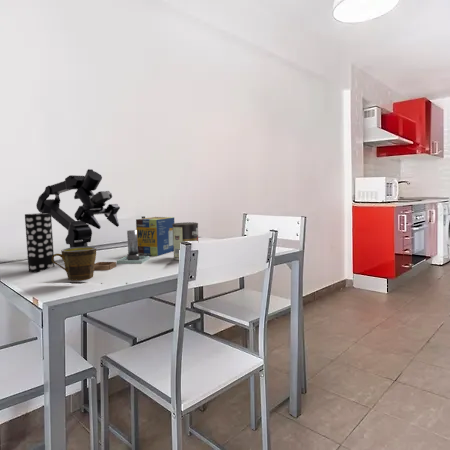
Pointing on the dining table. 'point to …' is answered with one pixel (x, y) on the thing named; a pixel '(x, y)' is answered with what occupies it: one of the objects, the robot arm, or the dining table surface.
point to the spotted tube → (39, 241)
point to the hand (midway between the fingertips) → (109, 227)
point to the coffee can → (183, 235)
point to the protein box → (155, 235)
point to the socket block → (104, 265)
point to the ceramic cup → (78, 263)
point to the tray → (123, 260)
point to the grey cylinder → (132, 245)
